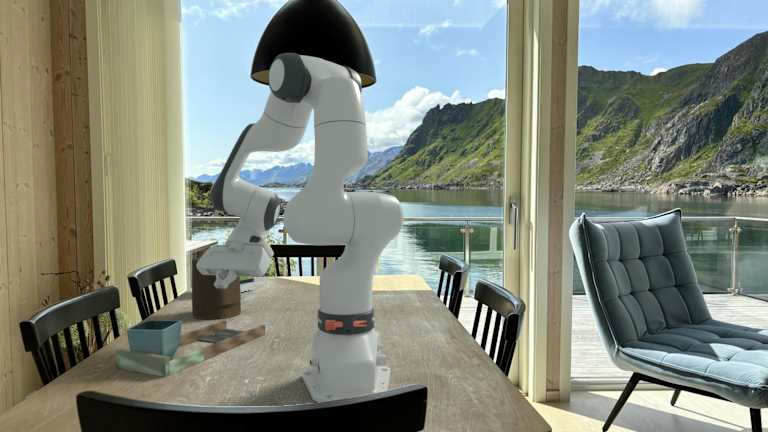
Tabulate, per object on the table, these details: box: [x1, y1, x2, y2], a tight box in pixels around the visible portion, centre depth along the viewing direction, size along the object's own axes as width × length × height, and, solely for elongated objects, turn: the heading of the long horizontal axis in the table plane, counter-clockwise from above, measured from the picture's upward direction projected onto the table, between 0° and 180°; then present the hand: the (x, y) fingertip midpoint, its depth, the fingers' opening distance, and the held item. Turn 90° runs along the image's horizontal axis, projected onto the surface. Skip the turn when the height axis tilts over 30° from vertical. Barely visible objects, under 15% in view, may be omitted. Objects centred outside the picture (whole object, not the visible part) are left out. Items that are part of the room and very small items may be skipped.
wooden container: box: [191, 245, 242, 320], centre depth 169 cm, size 15×15×22 cm
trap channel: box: [115, 320, 266, 378], centre depth 131 cm, size 36×14×4 cm, turn 157°
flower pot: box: [126, 319, 183, 361], centre depth 121 cm, size 9×9×9 cm
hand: (219, 287), depth 135 cm, fingers closed
